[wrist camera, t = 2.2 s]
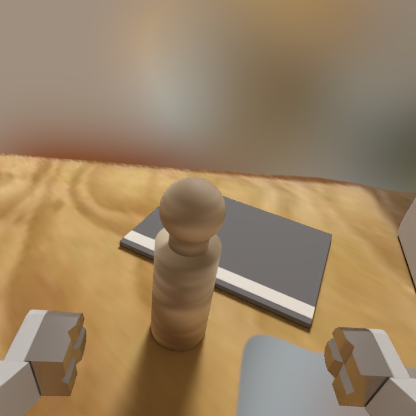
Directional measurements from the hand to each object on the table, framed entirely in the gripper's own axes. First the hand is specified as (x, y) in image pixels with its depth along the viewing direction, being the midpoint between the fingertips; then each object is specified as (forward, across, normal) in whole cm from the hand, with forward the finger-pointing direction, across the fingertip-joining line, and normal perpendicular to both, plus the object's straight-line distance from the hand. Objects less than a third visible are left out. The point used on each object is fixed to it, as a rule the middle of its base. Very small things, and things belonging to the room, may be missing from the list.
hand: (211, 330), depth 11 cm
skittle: (+12, 0, -17) cm, 21 cm away
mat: (+25, +6, -17) cm, 31 cm away
